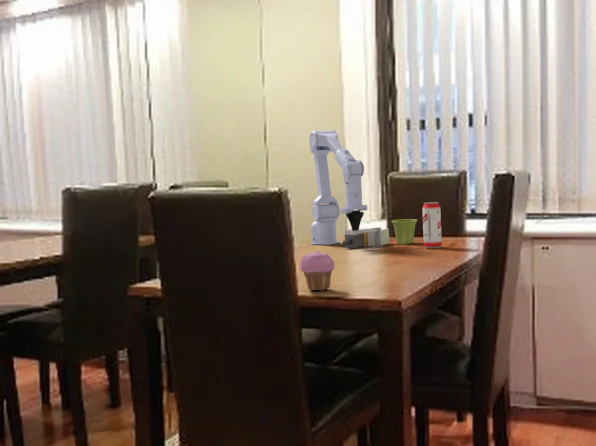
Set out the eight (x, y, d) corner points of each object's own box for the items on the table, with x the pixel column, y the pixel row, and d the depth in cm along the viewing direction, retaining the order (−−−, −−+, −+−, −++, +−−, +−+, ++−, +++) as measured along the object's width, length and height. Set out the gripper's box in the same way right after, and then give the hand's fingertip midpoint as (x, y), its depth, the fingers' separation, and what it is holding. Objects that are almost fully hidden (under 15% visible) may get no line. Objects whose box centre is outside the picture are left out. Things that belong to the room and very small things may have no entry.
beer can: (441, 246, 266) (439, 201, 264) (442, 248, 259) (441, 202, 258) (423, 247, 266) (421, 202, 265) (424, 249, 260) (422, 203, 259)
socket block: (342, 245, 282) (341, 230, 281) (358, 242, 290) (357, 227, 290) (379, 247, 272) (378, 231, 272) (393, 243, 281) (393, 228, 280)
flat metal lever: (354, 233, 265) (354, 231, 265) (349, 233, 267) (349, 230, 267) (382, 230, 273) (382, 227, 273) (377, 230, 275) (377, 227, 275)
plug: (338, 248, 272) (338, 234, 272) (360, 243, 284) (359, 230, 283) (351, 249, 269) (350, 234, 268) (372, 244, 280) (372, 230, 280)
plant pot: (419, 244, 275) (418, 220, 274) (393, 245, 275) (393, 222, 274) (416, 241, 284) (415, 218, 283) (391, 242, 284) (390, 220, 284)
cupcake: (328, 294, 184) (326, 254, 184) (296, 293, 188) (294, 254, 187) (340, 287, 193) (338, 249, 192) (308, 287, 196) (306, 249, 195)
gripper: (352, 196, 260) (354, 234, 262) (373, 193, 272) (375, 229, 273) (335, 196, 265) (337, 234, 266) (357, 193, 276) (359, 229, 277)
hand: (355, 232), depth 270 cm, fingers closed, pressing on flat metal lever
